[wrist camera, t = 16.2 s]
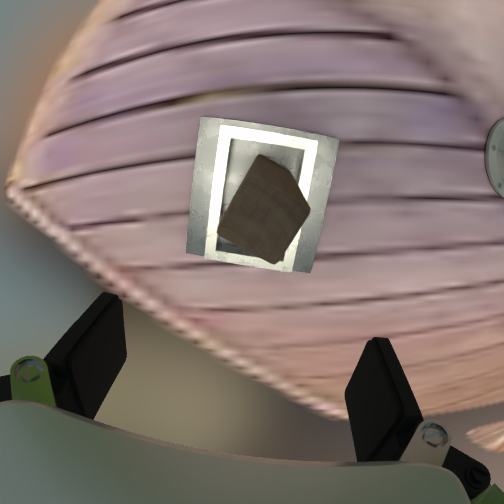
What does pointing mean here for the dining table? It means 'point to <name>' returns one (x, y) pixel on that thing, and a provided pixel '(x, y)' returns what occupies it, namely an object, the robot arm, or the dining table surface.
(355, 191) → the dining table surface
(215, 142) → the end cap
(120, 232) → the dining table surface
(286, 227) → the wooden block
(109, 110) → the dining table surface
